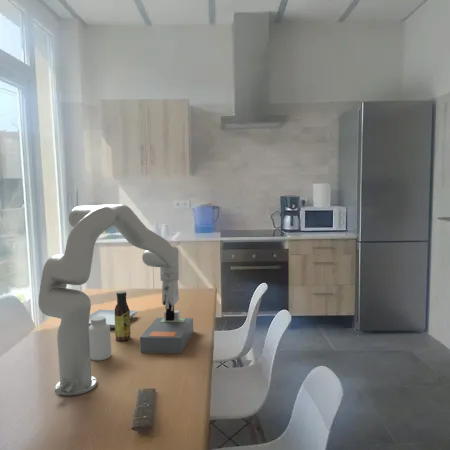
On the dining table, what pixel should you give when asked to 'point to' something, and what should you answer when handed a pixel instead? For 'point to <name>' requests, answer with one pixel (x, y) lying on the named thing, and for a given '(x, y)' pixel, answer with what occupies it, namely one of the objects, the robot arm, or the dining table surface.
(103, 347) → the pill bottle
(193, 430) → the dining table surface
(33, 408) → the dining table surface
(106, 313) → the salad plate
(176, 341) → the switch box
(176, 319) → the switch knob
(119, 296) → the sauce bottle
